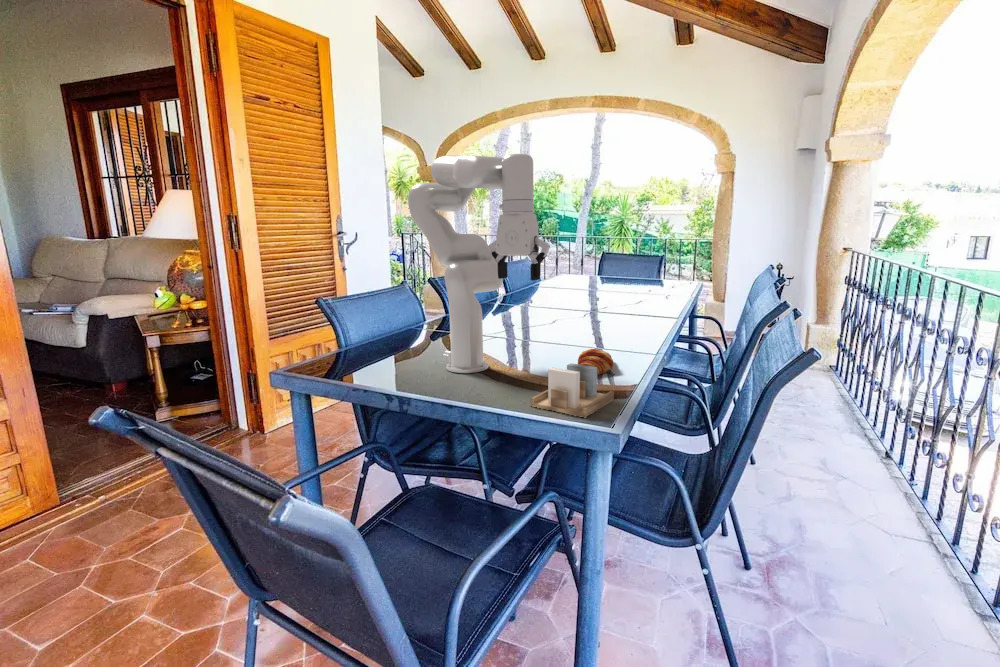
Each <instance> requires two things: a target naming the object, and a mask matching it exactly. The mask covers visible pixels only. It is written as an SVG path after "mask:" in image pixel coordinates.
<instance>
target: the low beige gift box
mask: <svg viewBox="0 0 1000 667" xmlns="http://www.w3.org/2000/svg"><path fill="white" fill-rule="evenodd" d="M547 372H548V373H547V375H548V377H547V379H548V381H547V383H548V384H547V386H548V387H547V388H548V389H547V390H548V403H551V389H552V388H553V389H558V390H563V391H568V407H572V408H577V407H578V406H579V402H580V372H578V371H572V370H567V368H566V369H564V368H558V367H550V368H548V370H547Z"/></svg>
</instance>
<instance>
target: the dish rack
mask: <svg viewBox="0 0 1000 667" xmlns="http://www.w3.org/2000/svg"><path fill="white" fill-rule="evenodd" d="M566 370H572V371H578V372H580V402H579V406H578V407H577V408H572V407H568V391H563V390H558V389H553V388H552V389H551V403H548V389H545V391H541V392H540V393H538V394H536V395H534V396H532V397H530V407H531V406H532V407H531V408H534V407H537V408H536V409H539V408H541V409H540V410H543V409H546V410H545V411H548V410H552V411H551V412H553V411H557V412H563V413H567V414H572V415H576V416H582V417H587V416H588V415H590V414H591V413H593V412H595V411H596V412H597V411H599V410H600V409H601V408H604V407H605V406H606V405H608V404H609V403H611V402H613V401H614V398H615V397H614V395H615V391H614V390H610V391H608V392H607V393H601V392H597V391H598V383H597V382H598V375H597V367H592V366H585V365H579V364H578V363H577V364H576V363H571V362H570V363H568V364H566ZM598 409H599V410H598ZM557 412H556V413H557ZM596 412H595V413H596ZM593 414H594V413H593ZM576 416H575V417H576ZM590 416H591V415H590ZM587 418H588V417H587Z"/></svg>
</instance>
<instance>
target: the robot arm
mask: <svg viewBox="0 0 1000 667" xmlns="http://www.w3.org/2000/svg"><path fill="white" fill-rule="evenodd" d="M533 159H534V158H533V157H532V156H531V155H529V154H526V153H511V154H507V155H504V157H501V156H500V157H498V156H489V155H488V156H485V155H483V156H481V155H470V154H469V155H468V154H467V155H442V156H440V157H438V158H436V159H434V161H433V163H432V164H431V166H430V167H431V168H430V175H431V176H432V178H433V180H434V181H435V182H422V183H418V184H415V185H413V186H411V188H410V189H409V191H408V195H407V205H408V210H409V213H410V216H411V217H412V220H413V221H414V223H415V225H416V226H417V227H418V228H419V229H420V231H421V232H422V234H423V235H424V236H425V239H426V240H427V242H428V244H429V245H430V247H431V250H432V251H433V253H434V254H435V256H436V258H437V260H438V261H439V263H440V264H441V265H443V266H444V267H446V268H445V271H444V276H443V277H444V278H443V279H444V285H445V287H446V288H445V289H446V294H447V298H448V308H449V309H448V312H449V314H448V315H449V332H450V333H449V337H450V338H449V340H450V350H446V351H445V352H444V353H443V354H442V359H446V360H448V362H447V363H446V366H445V367H446V370H447V371H448V372H452V373H456V374H458V373H459V374H472V373H475V374H476V373H479V372H483V371H486V370H488V369H489V366H490V364H489V362H488V361H486V360H484V340H483V339H484V335H483V334H484V332H483V331H484V330H483V309H482V305H481V303H480V302H479V300H478V299H477V297H476V295H475V294H481V293H487V292H488V293H489V292H494V291H497V290H498V289H500V288H501V287H502V285H503V282H504V279H506V278H508V262H507V261H506V260H507V259H508V257H509V256H511V257H512V256H513V257H514V256H515V257H521V256H522V257H524V256H528V258H529V259H530V261H531V262H532V263H531V264H530V280H531V281H537V280H538V281H539V280H540V278H541V275H542V274H541V271H542V270H541V263H543V261H544V260H545V259H546V258H547V257H548V253H549V250H550V249H551V245H550V244H549V243H547V242H546V241H544V240H542V239H540V234H539V233H540V232H539V225H538V218H537V215H536V213H534V160H533ZM475 189H492V190H493V189H496V190H501V192H502V193H501V195H502V196H501V197H502V198H501V199H502V200H501V202H502V203H500V204H499V206H498V209H499V210H501V212H502V214H499V216H498V221H497V227H496V228H497V230H496V239H495V240H494V241H492V242H491V243H490V244H488V242H487V241H486V240H485V238H483V237H482V236H480V235H479V234H476V233H459V232H456V230H455V229H454V227H453V226H452V224H451V222H450V221H449V220H448V219H447V218H445V217H444V215H442V214H440V213H439V212H458V211H460V210H462V209H464V206H466V204H467V202H469V201H468V200H469V199H470V198H471V196H472V195H473V193H474V192H475ZM540 248H541V250H540ZM539 251H540V252H539Z"/></svg>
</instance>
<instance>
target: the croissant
mask: <svg viewBox="0 0 1000 667" xmlns="http://www.w3.org/2000/svg"><path fill="white" fill-rule="evenodd" d="M577 364H579V365H585V366H592V367H597V376H598V374H599V375H603V374H605V373H607V372H609V371H610V370H611V369H612V368H613V367H614V359H613V358H612V355H611V354H610V353H609V352H607V351H605V350H601V349H598V348H589V349H586V350H583V351H581V353H580V354H579V356H578V359H577Z"/></svg>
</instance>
